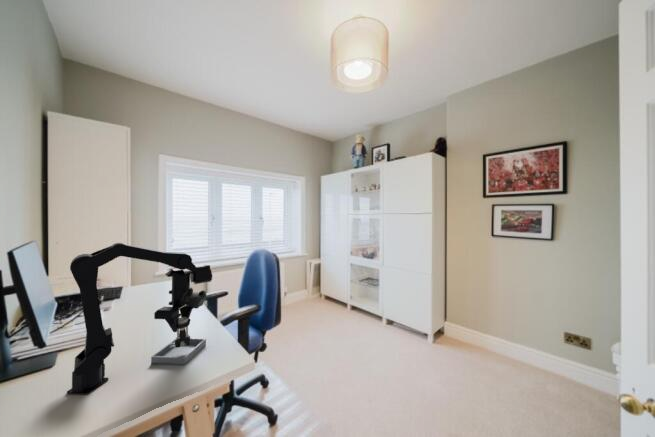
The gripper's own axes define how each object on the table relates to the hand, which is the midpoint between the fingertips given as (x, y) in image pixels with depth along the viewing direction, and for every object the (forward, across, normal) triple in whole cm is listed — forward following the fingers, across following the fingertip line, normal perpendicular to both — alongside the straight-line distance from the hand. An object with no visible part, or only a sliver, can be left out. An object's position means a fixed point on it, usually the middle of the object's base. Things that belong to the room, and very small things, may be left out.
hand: (180, 328), depth 88 cm
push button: (+7, 0, 0) cm, 7 cm away
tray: (+10, 0, 0) cm, 10 cm away
